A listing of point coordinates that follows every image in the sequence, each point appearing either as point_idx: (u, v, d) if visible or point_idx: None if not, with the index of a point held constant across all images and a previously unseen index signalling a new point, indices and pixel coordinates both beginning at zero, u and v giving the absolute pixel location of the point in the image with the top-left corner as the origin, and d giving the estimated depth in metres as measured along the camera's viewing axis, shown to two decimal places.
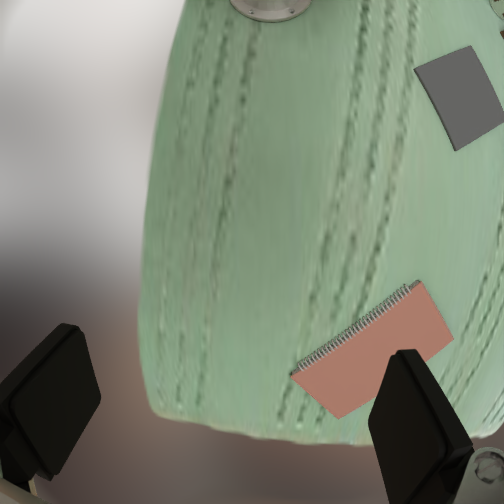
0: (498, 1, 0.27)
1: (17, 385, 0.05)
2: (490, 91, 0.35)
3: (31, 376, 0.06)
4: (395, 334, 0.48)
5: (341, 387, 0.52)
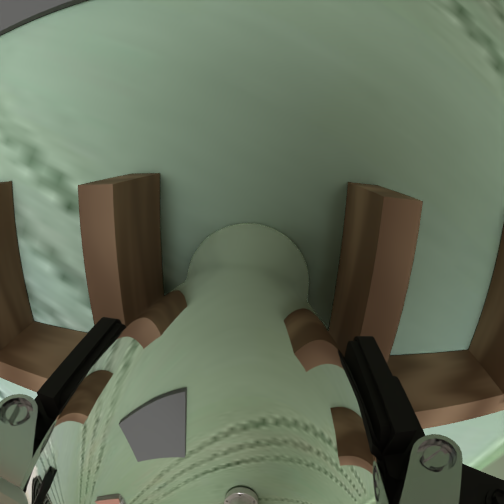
0: (269, 248, 0.13)
1: (67, 379, 0.06)
2: None
3: (80, 369, 0.06)
4: None
5: None
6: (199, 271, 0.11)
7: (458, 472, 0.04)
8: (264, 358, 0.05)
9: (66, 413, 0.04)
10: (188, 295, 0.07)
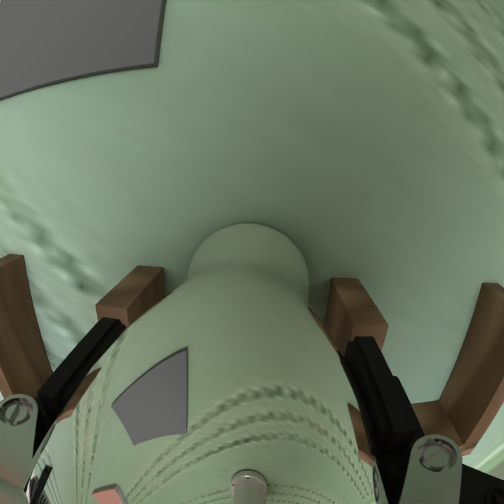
0: (269, 249, 0.13)
1: (68, 379, 0.06)
2: (32, 70, 0.13)
3: (80, 369, 0.06)
4: None
5: None
6: (199, 271, 0.11)
7: (457, 473, 0.04)
8: (264, 359, 0.05)
9: (66, 414, 0.04)
10: (188, 296, 0.07)
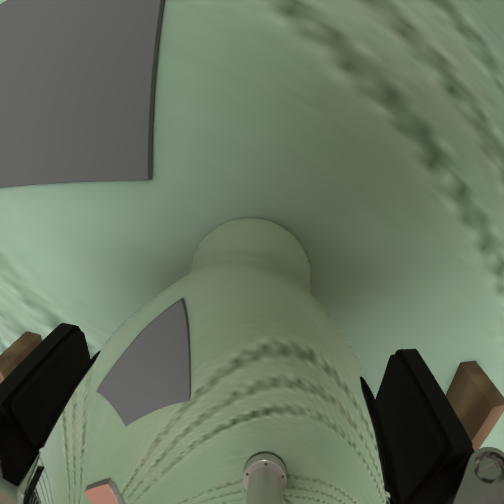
0: (272, 242, 0.13)
1: (17, 385, 0.05)
2: (24, 166, 0.14)
3: (31, 376, 0.06)
4: None
5: None
6: (203, 263, 0.11)
7: None
8: (272, 337, 0.05)
9: (75, 394, 0.04)
10: (195, 282, 0.07)
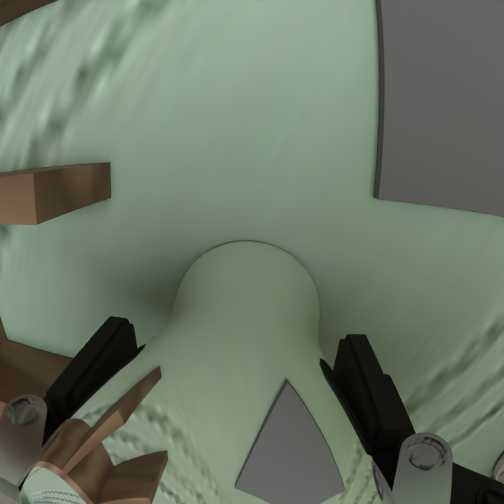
0: None
1: (77, 378, 0.06)
2: (406, 8, 0.09)
3: (90, 369, 0.07)
4: None
5: None
6: None
7: (448, 471, 0.04)
8: None
9: None
10: None
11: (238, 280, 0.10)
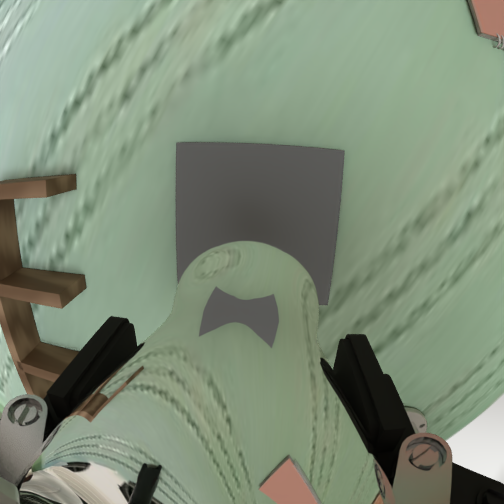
0: None
1: (77, 378, 0.06)
2: (188, 208, 0.27)
3: (90, 369, 0.07)
4: None
5: None
6: None
7: (448, 470, 0.04)
8: None
9: None
10: None
11: (237, 279, 0.10)
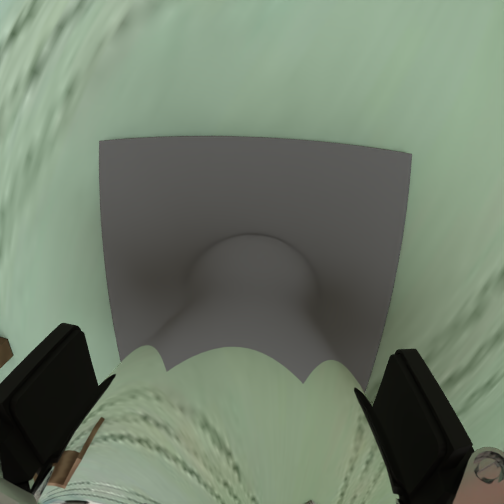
0: None
1: (17, 385, 0.05)
2: (123, 259, 0.14)
3: (31, 376, 0.06)
4: None
5: None
6: None
7: None
8: None
9: None
10: None
11: (245, 267, 0.11)
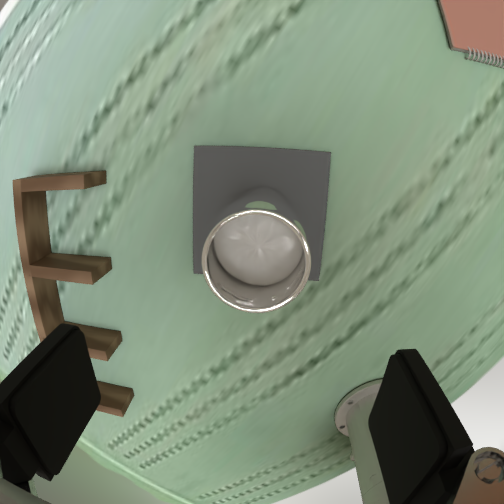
0: None
1: (17, 385, 0.05)
2: (203, 199, 0.33)
3: (31, 376, 0.06)
4: (491, 23, 0.23)
5: None
6: None
7: None
8: None
9: (300, 222, 0.21)
10: None
11: (260, 194, 0.29)
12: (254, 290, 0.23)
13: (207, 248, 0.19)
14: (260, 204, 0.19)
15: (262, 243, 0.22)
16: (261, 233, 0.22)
